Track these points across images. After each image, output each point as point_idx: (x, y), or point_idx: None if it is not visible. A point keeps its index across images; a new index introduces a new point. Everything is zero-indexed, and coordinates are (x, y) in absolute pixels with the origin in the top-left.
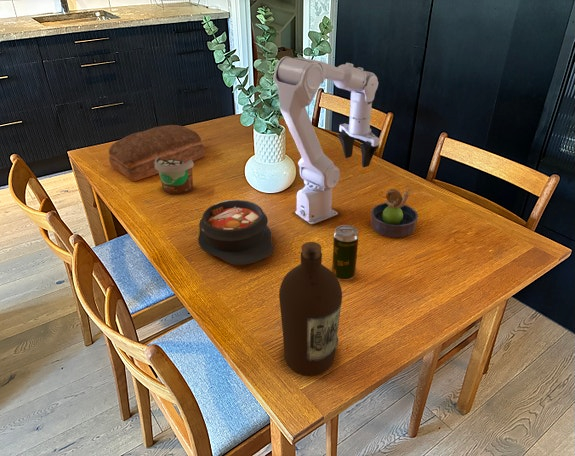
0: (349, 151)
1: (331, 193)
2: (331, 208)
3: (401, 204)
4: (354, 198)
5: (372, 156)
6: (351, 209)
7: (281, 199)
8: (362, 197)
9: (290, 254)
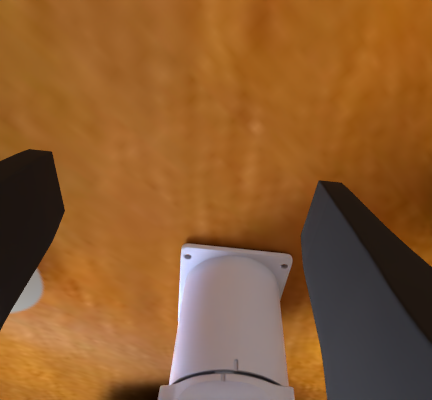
0: (21, 220)
1: (283, 360)
2: (270, 283)
3: None
4: (251, 116)
5: (414, 254)
6: (307, 196)
7: (77, 296)
8: (276, 76)
9: (316, 395)
